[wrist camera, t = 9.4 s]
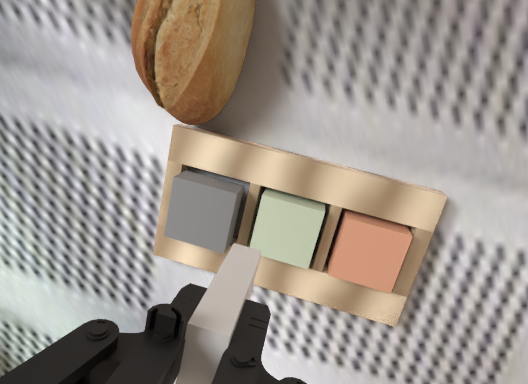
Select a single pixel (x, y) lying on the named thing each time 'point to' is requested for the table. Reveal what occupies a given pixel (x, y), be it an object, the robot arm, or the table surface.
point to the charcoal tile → (203, 211)
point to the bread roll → (191, 53)
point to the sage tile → (287, 227)
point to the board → (313, 187)
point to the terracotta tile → (369, 250)
